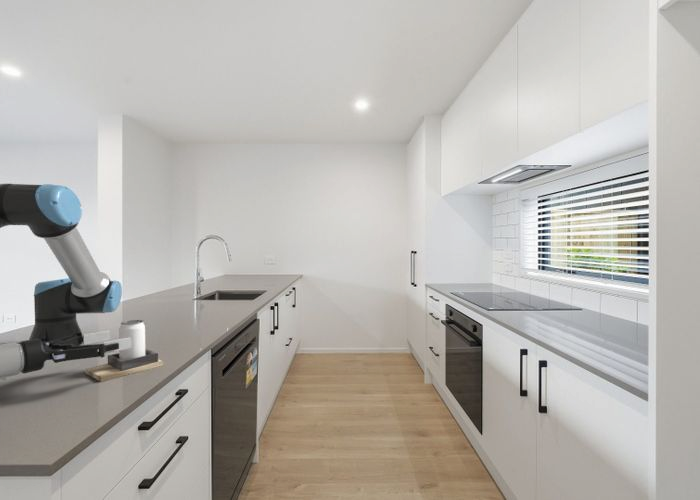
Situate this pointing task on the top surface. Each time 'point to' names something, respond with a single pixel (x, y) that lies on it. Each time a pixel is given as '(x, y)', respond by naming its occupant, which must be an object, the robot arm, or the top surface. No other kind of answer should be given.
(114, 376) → the seat block
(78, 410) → the top surface
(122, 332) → the can
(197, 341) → the top surface
